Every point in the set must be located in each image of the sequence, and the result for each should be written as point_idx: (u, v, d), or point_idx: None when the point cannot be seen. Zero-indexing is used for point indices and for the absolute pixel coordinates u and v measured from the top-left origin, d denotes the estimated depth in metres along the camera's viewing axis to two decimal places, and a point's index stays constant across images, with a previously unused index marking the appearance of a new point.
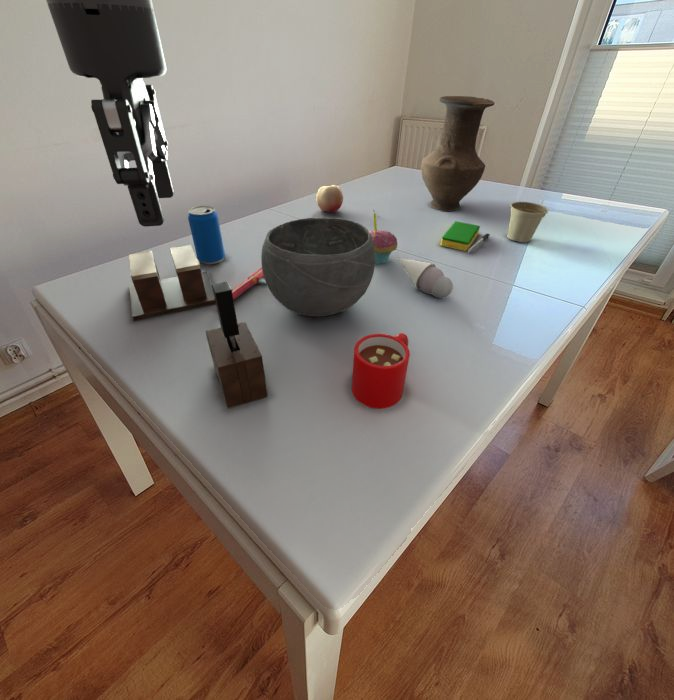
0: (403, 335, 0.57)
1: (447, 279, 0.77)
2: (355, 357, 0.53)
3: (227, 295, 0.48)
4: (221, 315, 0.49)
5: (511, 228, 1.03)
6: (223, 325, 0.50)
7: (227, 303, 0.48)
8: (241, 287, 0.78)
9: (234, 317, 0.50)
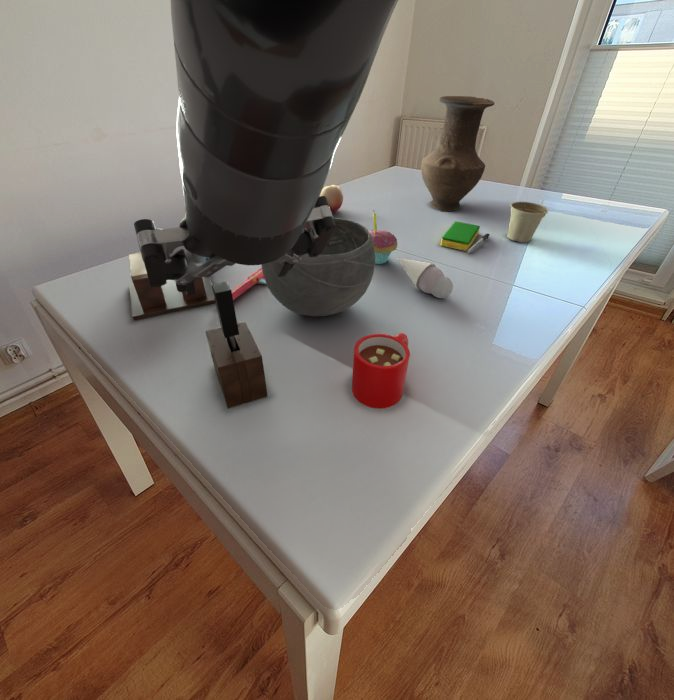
0: (403, 335, 0.57)
1: (447, 279, 0.77)
2: (355, 357, 0.53)
3: (227, 295, 0.48)
4: (221, 315, 0.49)
5: (511, 228, 1.03)
6: (223, 325, 0.50)
7: (227, 303, 0.48)
8: (241, 287, 0.78)
9: (234, 317, 0.50)
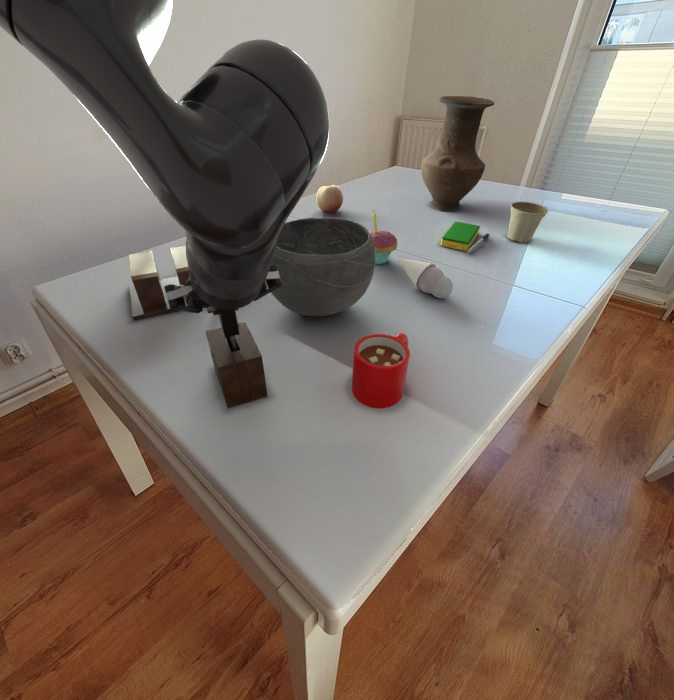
0: (403, 335, 0.57)
1: (447, 279, 0.77)
2: (355, 357, 0.53)
3: None
4: (221, 315, 0.49)
5: (511, 228, 1.03)
6: (223, 325, 0.50)
7: None
8: None
9: (234, 317, 0.50)
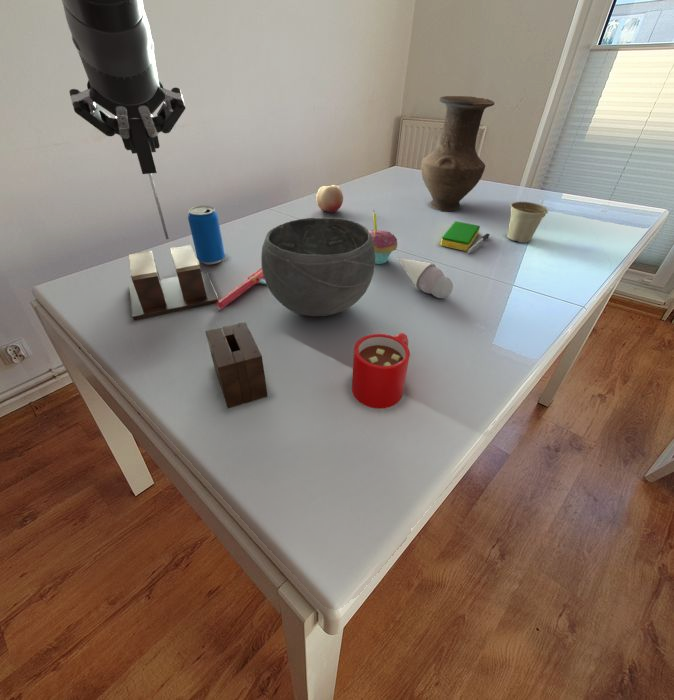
0: (403, 335, 0.57)
1: (447, 279, 0.77)
2: (355, 357, 0.53)
3: (139, 124, 0.52)
4: (136, 146, 0.53)
5: (511, 228, 1.03)
6: (139, 159, 0.54)
7: (140, 133, 0.53)
8: (241, 287, 0.78)
9: (149, 151, 0.54)
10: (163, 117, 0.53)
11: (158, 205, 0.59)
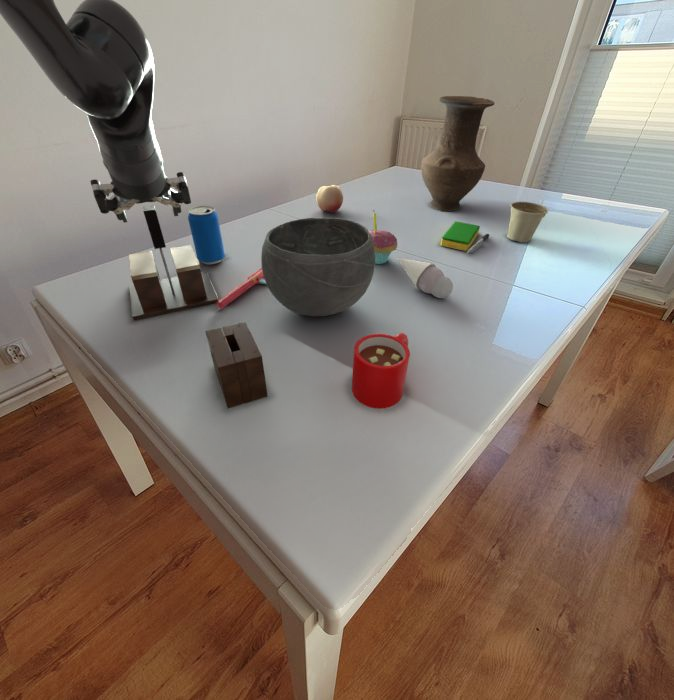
0: (403, 335, 0.57)
1: (447, 279, 0.77)
2: (355, 357, 0.53)
3: (152, 214, 0.67)
4: (149, 230, 0.68)
5: (511, 228, 1.03)
6: (152, 238, 0.69)
7: (153, 220, 0.67)
8: (241, 287, 0.78)
9: (160, 232, 0.69)
10: None
11: (167, 271, 0.73)
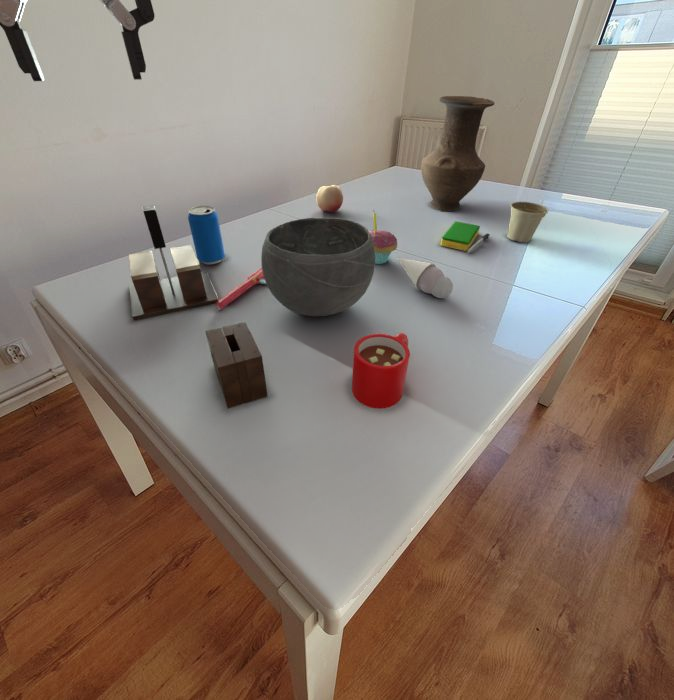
0: (403, 335, 0.57)
1: (447, 279, 0.77)
2: (355, 357, 0.53)
3: (152, 214, 0.67)
4: (149, 230, 0.68)
5: (511, 228, 1.03)
6: (152, 238, 0.69)
7: (153, 220, 0.67)
8: (241, 287, 0.78)
9: (160, 232, 0.69)
10: None
11: (167, 271, 0.73)
